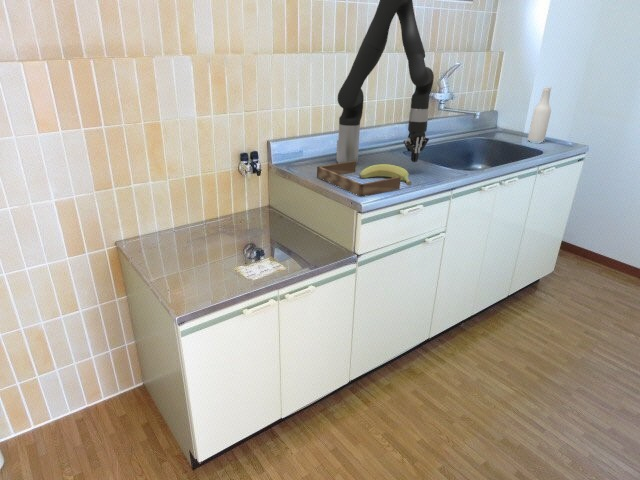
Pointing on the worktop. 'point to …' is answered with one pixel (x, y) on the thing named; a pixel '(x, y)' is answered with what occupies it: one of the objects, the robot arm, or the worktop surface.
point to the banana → (385, 172)
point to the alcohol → (540, 117)
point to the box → (334, 177)
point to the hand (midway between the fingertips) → (414, 161)
